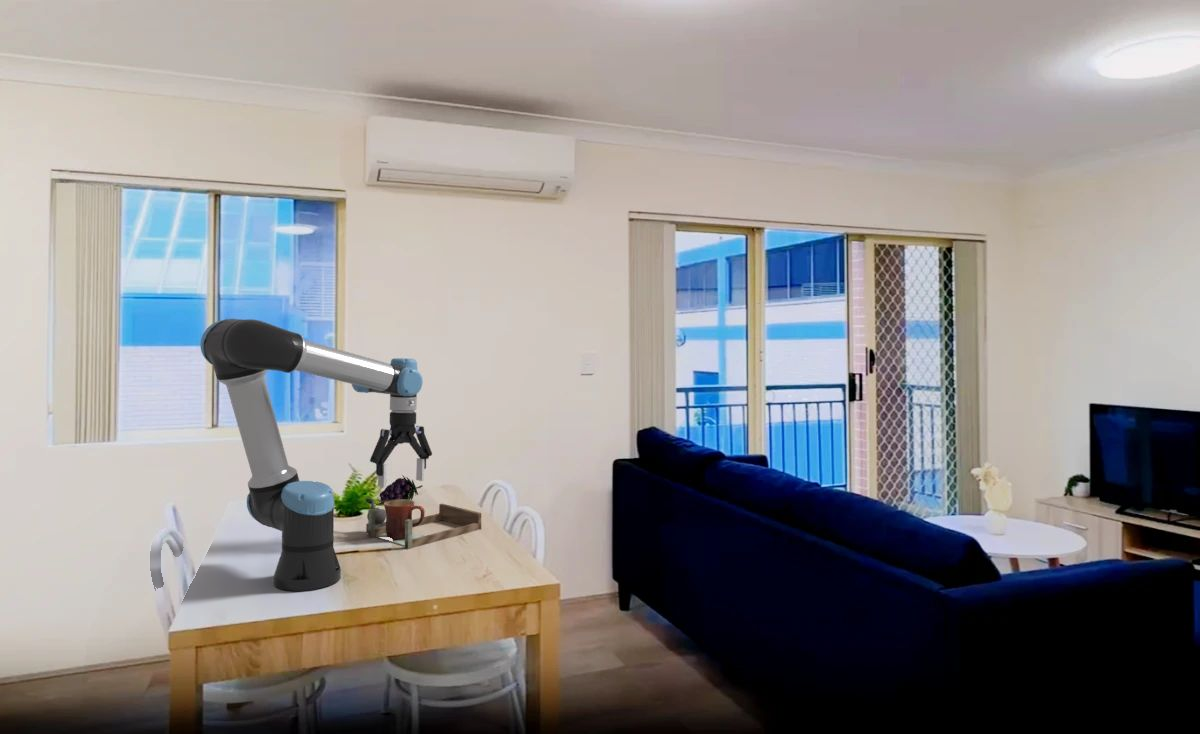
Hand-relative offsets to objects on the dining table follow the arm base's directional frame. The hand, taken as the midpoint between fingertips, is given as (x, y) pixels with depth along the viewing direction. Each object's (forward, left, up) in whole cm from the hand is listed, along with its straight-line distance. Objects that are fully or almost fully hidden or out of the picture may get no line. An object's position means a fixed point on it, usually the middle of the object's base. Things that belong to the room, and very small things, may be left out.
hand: (401, 483), depth 213 cm
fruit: (+28, +37, -17) cm, 49 cm away
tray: (+9, +3, -16) cm, 19 cm away
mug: (+1, 0, -16) cm, 16 cm away
